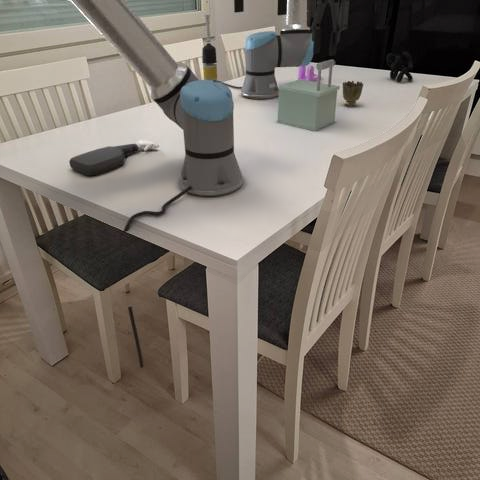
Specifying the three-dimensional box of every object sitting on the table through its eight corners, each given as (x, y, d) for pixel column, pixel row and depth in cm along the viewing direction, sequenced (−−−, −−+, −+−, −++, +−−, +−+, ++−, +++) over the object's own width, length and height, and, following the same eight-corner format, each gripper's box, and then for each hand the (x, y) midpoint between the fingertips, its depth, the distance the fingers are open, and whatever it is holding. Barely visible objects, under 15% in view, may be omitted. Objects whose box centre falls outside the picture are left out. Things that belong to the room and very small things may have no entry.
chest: (334, 122, 150) (337, 89, 145) (314, 131, 143) (317, 96, 137) (297, 114, 159) (299, 82, 153) (277, 122, 152) (278, 89, 146)
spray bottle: (67, 168, 120) (139, 144, 136) (91, 178, 114) (163, 151, 130) (65, 157, 118) (137, 134, 134) (89, 167, 112) (162, 142, 128)
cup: (337, 106, 166) (340, 84, 162) (343, 101, 171) (346, 79, 167) (357, 108, 163) (360, 86, 159) (363, 103, 168) (365, 81, 164)
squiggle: (400, 92, 202) (376, 71, 205) (417, 76, 202) (392, 56, 205) (405, 81, 191) (380, 59, 194) (423, 64, 191) (397, 42, 194)
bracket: (309, 83, 198) (310, 66, 194) (298, 81, 200) (299, 65, 197) (323, 78, 206) (324, 62, 203) (312, 76, 209) (313, 60, 205)
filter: (220, 99, 177) (217, 15, 161) (206, 100, 176) (202, 16, 160) (215, 96, 182) (212, 14, 166) (202, 97, 180) (197, 14, 164)
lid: (339, 89, 144) (342, 59, 139) (319, 96, 137) (321, 65, 132) (299, 82, 153) (301, 53, 148) (278, 89, 146) (279, 59, 141)
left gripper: (318, -100, 93) (311, 14, 104) (230, -90, 107) (232, 9, 118) (297, -102, 88) (292, 17, 99) (208, -92, 102) (212, 12, 113)
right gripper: (367, -36, 121) (356, 55, 134) (311, -36, 131) (306, 49, 144) (353, -35, 117) (343, 59, 129) (296, -35, 127) (292, 52, 139)
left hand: (259, 13), depth 109 cm, fingers open, 13 cm apart
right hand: (324, 53), depth 136 cm, fingers open, 5 cm apart
